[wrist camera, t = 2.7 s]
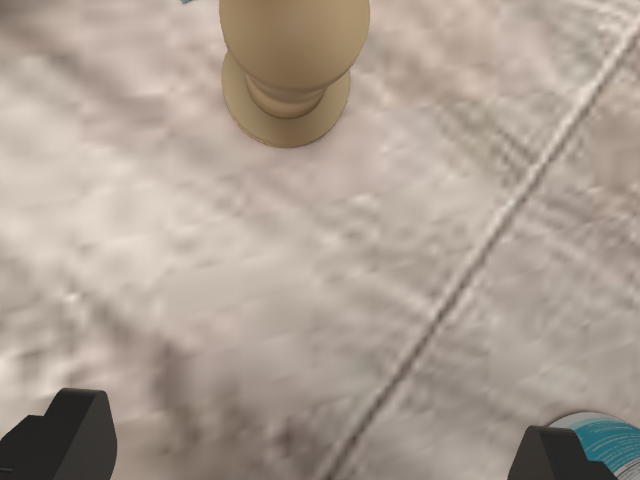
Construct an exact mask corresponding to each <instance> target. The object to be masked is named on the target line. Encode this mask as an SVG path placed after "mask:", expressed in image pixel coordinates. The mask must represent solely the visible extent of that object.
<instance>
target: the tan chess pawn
mask: <svg viewBox="0 0 640 480" xmlns="http://www.w3.org/2000/svg"><path fill="white" fill-rule="evenodd" d="M219 14H220V22H221V27H222V32H223V36H224V40H225V43H226V45H227V48H228V51H227V53H226V55H225V59H224V62H223V67H222V88H223V92H224V96H225V100H226V103H227V106H228V108H229V111H230V113H231V115H232V117H233V118H234V120H235V121H236V123H237V124H238V125H239V126H240V127H241V129H242V130H243V131H244V132H246V133H247V134H248V135H249V136H251V137H252V138H254V139H255V140H257V141H259V142H261V143H264V144H266V145H269V146H273V147H279V148H294V147H300V146H304V145H307V144H309V143H312V142H314V141H315V140H317V139H319V138H320V137H322V136H323V135H324V134H326V133H327V132H328V131H329V130H330V129H331V127H332V126H333V125H334V124H335V122H336V121H337V119H338V118H339V116H340V114H341V113H342V111H343V109H344V107H345V105H346V102H347V99H348V95H349V89H350V72H349V68H350V67H351V66H352V65H353V63H354V61H355V60H356V58H357V56H358V54H359V52H360V51H361V49H362V46H363V44H364V42H365V40H366V36H367V33H368V29H369V22H370V6H369V0H220V1H219Z"/></svg>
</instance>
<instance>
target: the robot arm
mask: <svg viewBox="0 0 640 480" xmlns="http://www.w3.org/2000/svg"><path fill="white" fill-rule="evenodd" d="M116 456H117V438H116V433H115V429H114V424H113V419H112V415H111V410H110V406H109V401H108V397H107V394H106V392H105V391H102V390H89V389H76V388H63V389H61V390H60V391H59V392H58V393H57V394H56V396H55V397H54V399H53V401H52V402H51V404H50V406H49V408H48V409H47V411H46V413H45V415H44V416H36V415H28V416H27V417H26V418H24V419H23V420H22V421H21V422H20V423H19V424H18V425H16V426H15V427H14V428H13V429H12V430H11V431H9V432H8V433H7V434H6V435H5V436H4V437H3V438H2V439H1V441H0V480H110V478H111V475H112V473H113V470H114V466H115V462H116ZM507 480H618V478H617V477H616V476H615V475H614V474H613V473H612V472H611V470H610V469H609V468H608V467H607V466H606V465H605V463H604V462H603V461H591V460H588V459H587V456H586V454H585V452H584V449H583V447H582V444H581V442H580V440H579V438H578V436H577V434H576V433H575V432H574V430H572V429H569V428H557V427H544V426H529V427H528V428H527V429H526V431H525V434H524V436H523V439H522V441H521V444H520V446H519V449H518V451H517V454H516V456H515V459H514V461H513V464H512V466H511V468H510V471H509V474H508V479H507Z"/></svg>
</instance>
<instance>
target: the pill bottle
mask: <svg viewBox="0 0 640 480" xmlns="http://www.w3.org/2000/svg"><path fill="white" fill-rule="evenodd" d="M548 427H557V428H569V429H572V430H574V432H575V433H576V434H577V436H578V438H579V440H580V442H581V444H582V447H583V449H584V452H585V454H586V456H587V459H588V460H591V461H603V462H604V463H605V465H606V466H607V467H608V468H609V469H610V470H611V472H612V473H613V474H614V475H615V476H616V477H617V478H618V480H640V429H638V428H636V427H634V426H632V425H630V424H628V423H626V422H624V421H622V420H620V419H618V418H615V417H613V416H610V415H607V414H603V413H596V412H582V413H576V414H571V415H568V416H565V417H563V418H561V419H559V420H557V421H555V422H554V423H552V424H551V425H550V426H548Z"/></svg>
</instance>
